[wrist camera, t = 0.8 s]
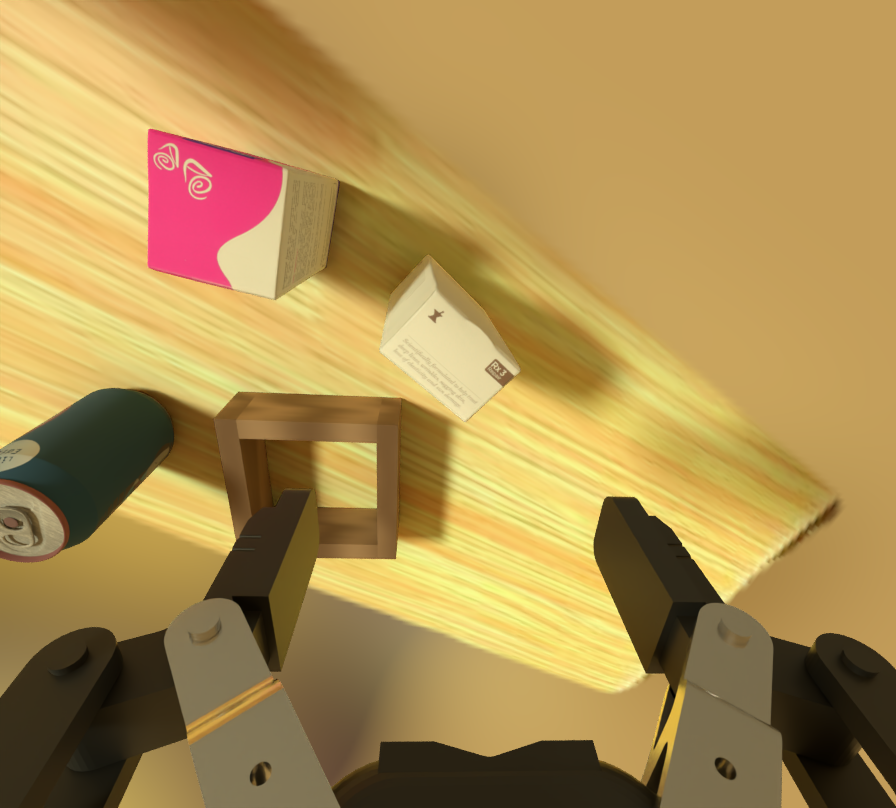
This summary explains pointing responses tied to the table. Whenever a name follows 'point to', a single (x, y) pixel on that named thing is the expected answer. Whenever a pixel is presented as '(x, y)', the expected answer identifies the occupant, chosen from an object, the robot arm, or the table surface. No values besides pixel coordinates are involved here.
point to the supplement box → (235, 217)
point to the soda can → (78, 471)
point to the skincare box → (445, 340)
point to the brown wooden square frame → (314, 421)
